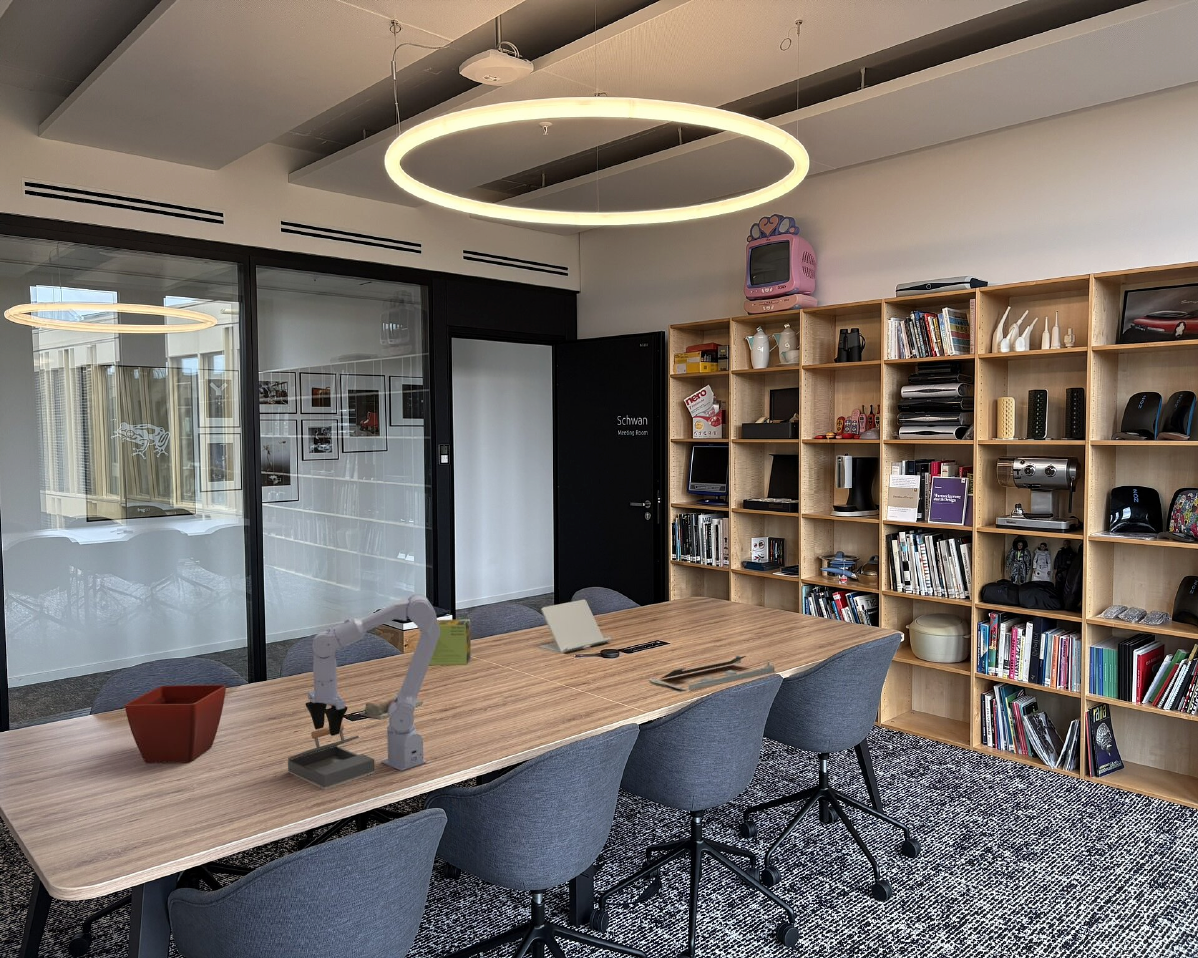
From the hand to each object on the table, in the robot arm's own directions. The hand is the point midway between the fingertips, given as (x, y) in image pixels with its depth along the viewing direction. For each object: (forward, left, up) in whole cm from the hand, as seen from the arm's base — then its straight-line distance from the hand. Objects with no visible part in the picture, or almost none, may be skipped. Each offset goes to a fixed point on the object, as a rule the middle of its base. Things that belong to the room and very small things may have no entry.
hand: (327, 731), depth 225 cm
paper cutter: (-24, -136, -11) cm, 138 cm away
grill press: (+1, 0, -5) cm, 5 cm away
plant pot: (+42, +20, -10) cm, 48 cm away
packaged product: (+32, -41, -11) cm, 53 cm away
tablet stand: (+47, -140, -11) cm, 148 cm away
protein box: (+66, -91, -10) cm, 113 cm away
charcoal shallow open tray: (-2, 0, -10) cm, 10 cm away
